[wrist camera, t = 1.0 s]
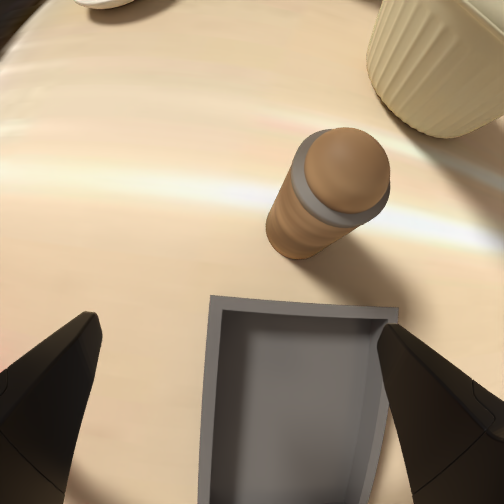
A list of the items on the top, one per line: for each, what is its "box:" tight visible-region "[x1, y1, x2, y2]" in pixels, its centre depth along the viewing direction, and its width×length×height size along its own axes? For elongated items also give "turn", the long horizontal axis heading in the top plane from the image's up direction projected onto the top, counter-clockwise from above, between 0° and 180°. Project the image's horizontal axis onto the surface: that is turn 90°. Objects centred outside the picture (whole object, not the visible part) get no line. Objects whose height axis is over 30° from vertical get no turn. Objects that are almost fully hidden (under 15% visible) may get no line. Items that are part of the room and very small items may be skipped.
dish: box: [198, 295, 399, 504], centre depth 20 cm, size 18×13×4 cm
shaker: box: [266, 127, 390, 259], centre depth 18 cm, size 5×5×12 cm
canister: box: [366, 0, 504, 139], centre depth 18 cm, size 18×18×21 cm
